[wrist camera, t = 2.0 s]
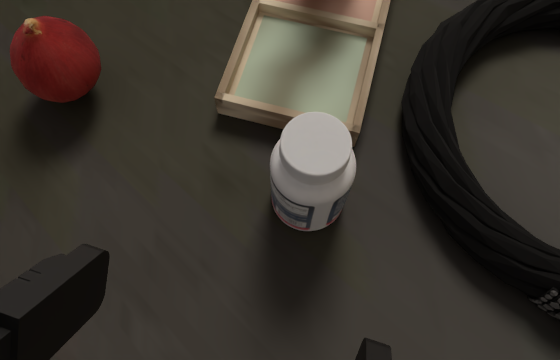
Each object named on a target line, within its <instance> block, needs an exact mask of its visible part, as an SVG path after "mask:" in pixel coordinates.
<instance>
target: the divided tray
mask: <svg viewBox="0 0 560 360" xmlns="http://www.w3.org/2000/svg"><path fill="white" fill-rule="evenodd" d="M390 1H391V0H252V3H251V5H250V8H249V10H248V13H247V16H246V18H245V21H244V23H243V26H242V28H241V31H240V34H239V36H238V39H237V41H236V44H235V46H234V49H233V51H232V54H231V57H230V59H229V62H228V64H227V67H226V69H225V72H224V75H223V77H222V80H221V82H220V85H219V87H218V90H217V92H216V95H215V102H216V107H217V111H218V113H219V114H223V115H227V116H231V117H235V118H239V119H244V120H248V121H252V122H256V123H260V124H264V125H268V126H272V127H276V128H280V129H284V128H285V126H286V125H287V124H288V123H289V122H290V121H291V120H292V119H293V118H295V117H297V116H298V115H301V114H304V113H307V112H322V113H327V114H330V115H332V116H334V117H336V118H337V119H339V120H340V121H341V122H342V123H343V124H344V125H345V126H346V127H347V129H348V131H349V133H350V135H351V138H352V146H353V147H355V144H356V141H357V139H358V136H359V133H360V129H361V125H362V120H363V116H364V112H365V108H366V103H367V99H368V95H369V90H370V86H371V82H372V78H373V73H374V69H375V65H376V60H377V56H378V52H379V48H380V43H381V39H382V35H383V31H384V26H385V22H386V18H387V13H388V9H389V5H390Z"/></svg>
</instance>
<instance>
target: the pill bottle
mask: <svg viewBox="0 0 560 360" xmlns="http://www.w3.org/2000/svg"><path fill="white" fill-rule="evenodd" d="M355 173H356V159H355V155H354V152H353V150H352V138H351V135H350V133H349V131H348V129H347V127H346V126H345V125H344V124H343V123H342V122H341V121H340V120H339V119H337V118H336V117H334V116H332V115H330V114H327V113H322V112H307V113H304V114H301V115H298V116H297V117H295V118H293V119H292V120H291V121H290V122H289V123H288V124H287V125H286V126H285V128H284V130H283V131H282V134H281V138H280V140H279V141H278V142H277V143H276V145H275V147H274V149H273V151H272V154H271V159H270V180H271V198H272V204H273V208H274V210H275V212H276V214H277V215H278V217H279V218H280V219H281V220H282V221H283V222H284V223H285V224H287V225H288V226H290V227H292V228H294V229H297V230H301V231H315V230H319V229H322V228H325V227H326V226H328V225H330V224H331V223H332V222H334V221H335V220H336V218H337V217H338V216H339V214H340V213H341V211H342V208H343V206H344V204H345V201H346V199H347V196H348V194H349V191H350V189H351V186H352V184H353V181H354V178H355Z"/></svg>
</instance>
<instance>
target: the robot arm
mask: <svg viewBox="0 0 560 360" xmlns="http://www.w3.org/2000/svg"><path fill="white" fill-rule="evenodd" d="M108 265H109V252H108V251H106V250H103V249H100V248H97V247H94V246H91V245H87V244H82V245H80V246H79V247H77V248H76V249H75V250H73V251H72V252H70V253H69V254H68V255H64V254H59V255H56V256H53V257H50V258H47V259H44V260H42V261H40V262H39V263H38V264H36V265H35V266H33V267H32V268H30V270H29V271H26V272H24V273H23V274H21V275H20V276H18V279H14V280H13V281H11V282H10V283H8V284H7V285H5V286H4V287H2V288H1V289H0V360H49V359H50V358H51V357H52V356H53V355H54V354H55V353H56V352H57V351H58V350H59V349H60V348H61V347H62V346H63V345H64V344H65V343H66V342H67V341H68V340H69V339H70V338H71V337H72V336H73V335H74V334H75V333H76V332H77V331H78V330H79V329H80V328H81V327H82V326H83V325H84V324H85V323H86V322H87V321H88V320H89V319H90V318H91V317H92V316H93V315H94V314H95V313H96V312H97V310H98V309H99V307H100V305H101V303H102V301H103V298H104V295H105V289H106V281H107V273H108ZM355 360H392V355H391V347H390V346H389V345H386V344H383V343H380V342H377V341H374V340H371V339H368V338H364V339H363V341H362V343H361V346H360V348H359V351H358V354H357V356H356V359H355Z"/></svg>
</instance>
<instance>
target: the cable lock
mask: <svg viewBox="0 0 560 360" xmlns="http://www.w3.org/2000/svg"><path fill="white" fill-rule="evenodd" d="M542 28H553V29H560V0H477V1H476V2H474V3H472V4H471V5H469V6H467V7H466V8H465V9H463V10H462V11H460V12H458V13H457V14H455V15H453V16H452V17H450V18H448V19H447V20H445V21H443V22H442V23H440V25H439V26H438V28H437V30H436V31H435V33H434V34H433V35H432V36H431V37H430V38H429V39H428V40H427V41H426V42H425V43H424V44H423V45H422V47H421V49H420V51H419V53H418V55H417V58H416V60H415V62H414V64H413V66H412V68H411V74H410V75H409V78H408V81H407V84H406V88H405V91H404V95H403V98H402V108H403V133H402V134H403V138H404V142H405V145H406V149H407V152H408V156H409V160H410V163H411V168H412V172H413V174H414V176H415V178H416V180H417V182H418V184H419V187H420V189H421V191H422V193H423V195H424V197H425V199H426V201H427V202H428V203H429V205H430V206H431V207H432V208H433V210H434V211H435V212H436V213H437V215H438V216H439V217H440V218H441V220H442V222H443V223H444V225H445V227H446V229H447V231H448V233H449V234H450V235H451V236H452V237H453V238H454V239H455V240H456V241H457V242H458V243H459V244H460V245H461V246H462V247H463V248H464V249H465V250H466V251H467V252H468V253H469V254H470V255H471V256H472V257H473V258H474V259H475V260H476V261H477V262H479V263H480V264H481V265H483V266H484V267H485V268H487V269H488V270H489V271H491V272H492V273H493V274H494V275H496V276H497V277H498V278H500V279H501V280H502V281H504V282H505V283H507V284H509V285H511V286H513V287H515V288H517V289H519V290H521V291H522V292H524V293H526V294H527V295H528V296H529V297H528V299H529V300H530V301H531V302H534V303H535V304H536V305H537V306H538V307H539V308H540V309H541V310H544V311H547V309H548V310H549V311H547V313H548V314H549V315H551V316H553V317H555V318H557V319H559V320H560V250H559V249H557V248H554V247H552V246H550V245H548V244H546V243H545V242H543V241H541V240H539V239H538V238H536V237H534V236H533V235H532V234H530V233H529V232H528V231H527V230H525V229H524V228H523V227H522V226H521V225H519V224H518V223H517V222H516V221H514V220H513V219H512V218H511V217H509V216H508V215H507V214H506V213H504V212H503V211H502V210H501V209H500V208H499V207H498V206H497V205H496V204H495V203H494V202H493V201H492V200H491V198H490V197H489V196H488V195H487V194H486V193H485V192H484V190H483V189H482V187H481V186H480V184H479V183H478V181H477V179H476V178H475V176H474V175H473V173H472V172H471V170H470V168H469V167H468V165H467V164H466V162H465V160H464V158H463V156H462V154H461V152H460V149H459V145H458V141H457V136H456V132H455V127H454V123H453V119H452V114H451V106H452V100H453V95H454V89H455V84H456V79H457V76H458V75H459V73H460V71H461V69H462V68H463V66H464V64H465V62H466V61H467V59H468V58H469V57H470V56H472V55H473V54H474V53H475V52H477V51H478V50H479V49H480V48H481V47H483V46H484V45H485V44H486V43H488V42H489V41H491V40H493V39H496V38H499V37H501V36H504V35H507V34H509V33H512V32H516V31H524V30H533V29H542Z"/></svg>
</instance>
